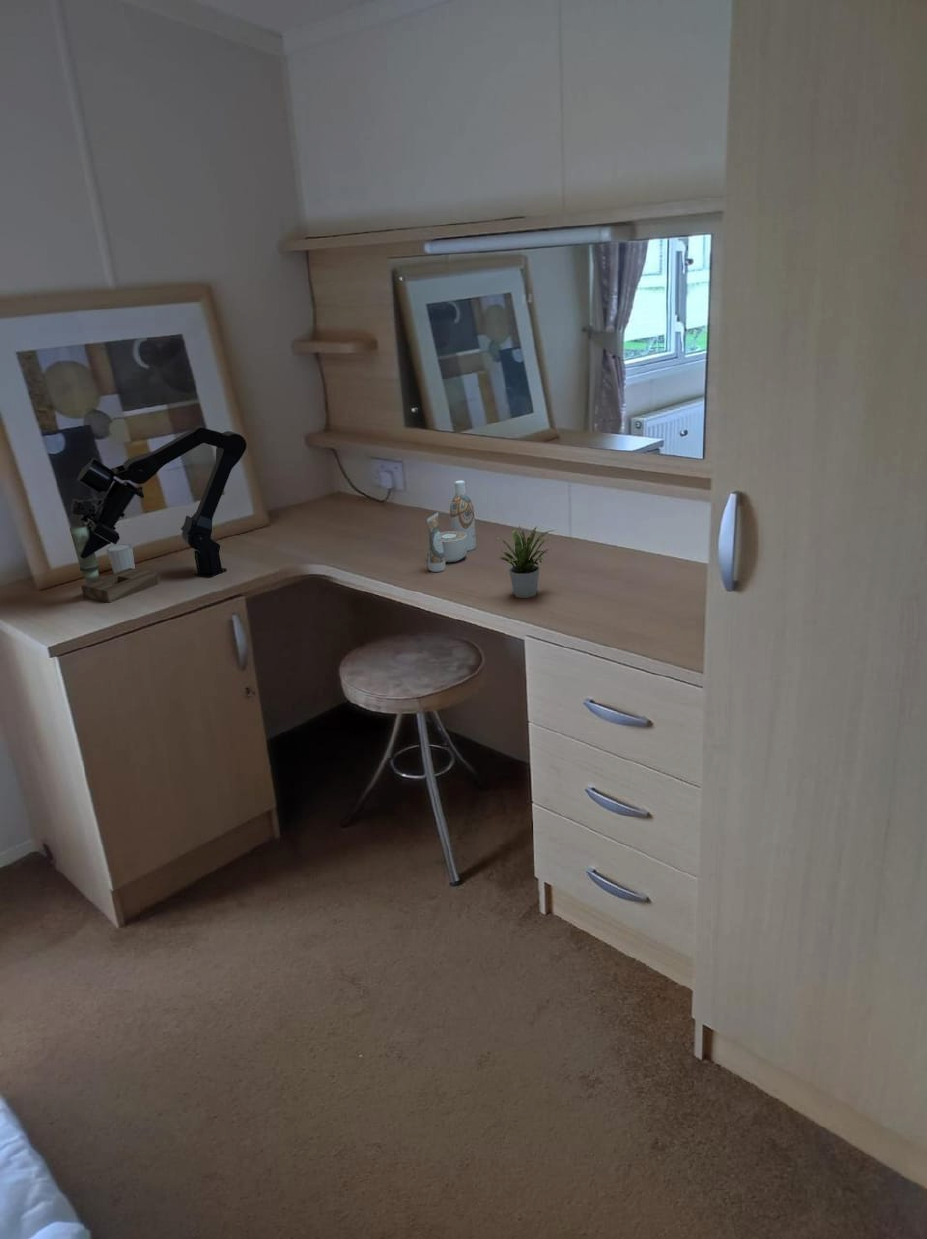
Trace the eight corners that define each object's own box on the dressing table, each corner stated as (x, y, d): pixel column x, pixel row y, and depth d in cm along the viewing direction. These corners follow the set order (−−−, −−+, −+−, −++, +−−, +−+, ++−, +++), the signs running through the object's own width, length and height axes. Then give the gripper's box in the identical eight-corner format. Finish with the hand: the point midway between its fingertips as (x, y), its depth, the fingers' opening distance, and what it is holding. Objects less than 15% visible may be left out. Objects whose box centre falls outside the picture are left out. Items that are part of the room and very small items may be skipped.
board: (158, 583, 233) (156, 573, 232) (109, 602, 222) (107, 591, 221) (132, 578, 239) (130, 567, 238) (83, 596, 228) (80, 585, 227)
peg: (105, 578, 224) (91, 525, 219) (90, 584, 221) (76, 530, 215) (95, 576, 226) (81, 524, 221) (80, 582, 223) (65, 529, 218)
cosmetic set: (448, 575, 224) (442, 503, 217) (415, 573, 227) (408, 501, 220) (484, 546, 245) (480, 479, 238) (453, 544, 248) (448, 478, 241)
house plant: (573, 592, 206) (572, 524, 200) (534, 609, 198) (531, 539, 191) (528, 580, 216) (525, 515, 210) (488, 596, 207) (484, 529, 201)
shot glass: (110, 577, 242) (104, 552, 239) (112, 569, 248) (107, 545, 245) (136, 573, 243) (131, 549, 241) (138, 566, 249) (133, 542, 247)
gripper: (78, 479, 224) (43, 531, 223) (93, 491, 209) (56, 547, 208) (117, 503, 231) (84, 553, 230) (134, 516, 216) (99, 570, 215)
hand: (80, 555), depth 220 cm, fingers closed on peg, 4 cm apart
